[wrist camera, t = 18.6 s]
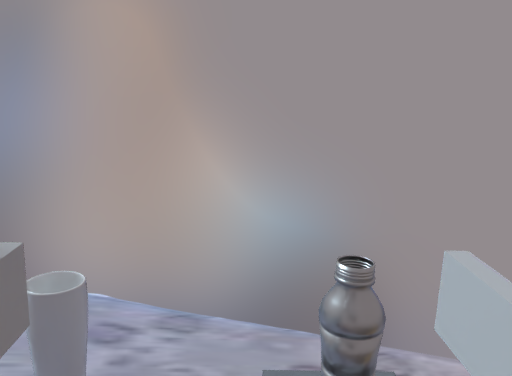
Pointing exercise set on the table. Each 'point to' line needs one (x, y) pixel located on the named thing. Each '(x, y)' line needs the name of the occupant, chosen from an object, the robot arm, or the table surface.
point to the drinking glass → (58, 323)
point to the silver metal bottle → (351, 320)
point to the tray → (309, 373)
